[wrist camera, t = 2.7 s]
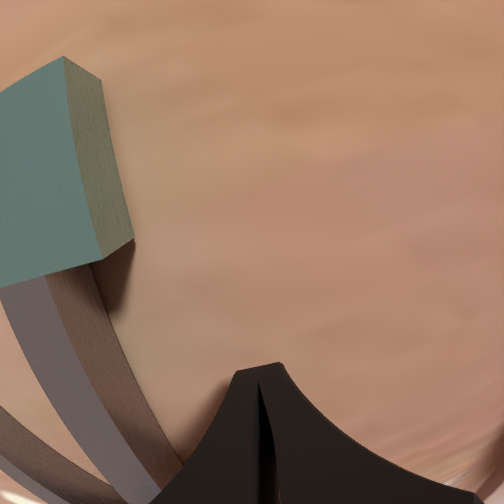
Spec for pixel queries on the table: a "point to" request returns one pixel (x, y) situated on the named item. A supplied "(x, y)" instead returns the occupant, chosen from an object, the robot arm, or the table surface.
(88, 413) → the tong free arm
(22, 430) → the tong fixed arm
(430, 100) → the table surface
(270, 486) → the robot arm
